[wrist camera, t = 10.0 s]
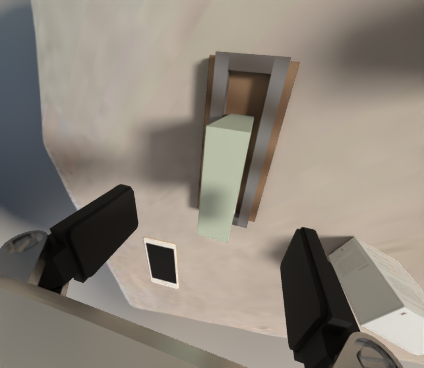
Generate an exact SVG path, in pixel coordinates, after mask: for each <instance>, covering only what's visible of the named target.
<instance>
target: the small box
mask: <svg viewBox="0 0 424 368" xmlns="http://www.w3.org/2000/svg"><path fill="white" fill-rule="evenodd" d="M328 257H329V259H330V261H331V264H332V266H333V268H334V270H335V272H336V275H337V277H338V279H339V281H340V283H341V285H342V287H343V290H344V292H345V294H346V296H347V298H348V300H349V303H350V305H351V307H352V309H353V311H354V313H355V315H356V318H357V320H358V322H359V324H360V325H361V326H363V327H364V328H366V329H368V330H370V331H372V332H373V333H375V334H377V335H379V336H381V337H382V338H384V339H386V340H388V341H390V342H391V343H393V344H395V345H397V346H399V347H401V348H402V349H404V350H406V351H408V352H409V353H411V354H413V355H415V356H417V355H422V354H424V291H423V289H422V288H421V287H420V286H419V285H418V284H417V283H416V282H415V280H414V279H413V278H412V277H411V276H410V275H409V274H408V272H407V271H406V270H405V269H404V268H403V267H402V266H401V264H400V263H399V262H398V261H397V260H395V259H393V258H391V257H390V256H388V255H386V254H384V253H382V252H381V251H379V250H377V249H375V248H374V247H372V246H370V245H368V244H366V243H365V242H363V241H361V240H359V239H358V238H356V237H353V238H352V239H351V240H349V241H348V242H346V243H345V244H344V245H342V246H341V247H340V248H338V249H337V250H335V251H334V252H333V253H331V254H330V255H329V256H328Z"/></svg>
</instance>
